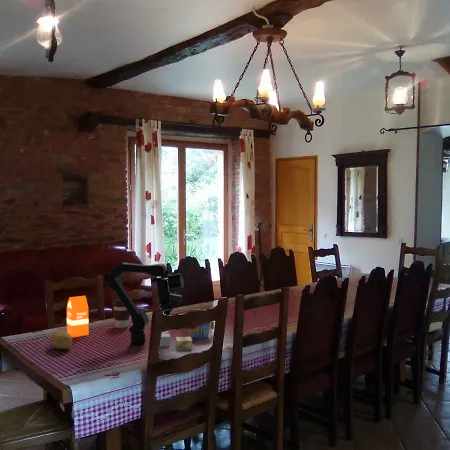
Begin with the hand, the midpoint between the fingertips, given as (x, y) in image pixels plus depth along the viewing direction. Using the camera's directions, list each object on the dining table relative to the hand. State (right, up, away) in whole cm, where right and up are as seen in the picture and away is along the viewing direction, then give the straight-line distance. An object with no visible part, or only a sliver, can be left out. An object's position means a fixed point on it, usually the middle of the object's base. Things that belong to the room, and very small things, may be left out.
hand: (167, 321), depth 245 cm
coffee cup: (-30, -10, +36) cm, 48 cm away
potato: (-49, -12, -6) cm, 51 cm away
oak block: (+8, -12, -3) cm, 14 cm away
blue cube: (-2, -12, 0) cm, 12 cm away
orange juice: (-49, -11, +19) cm, 54 cm away
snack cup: (+15, -11, +15) cm, 24 cm away
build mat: (+8, -12, -3) cm, 15 cm away
